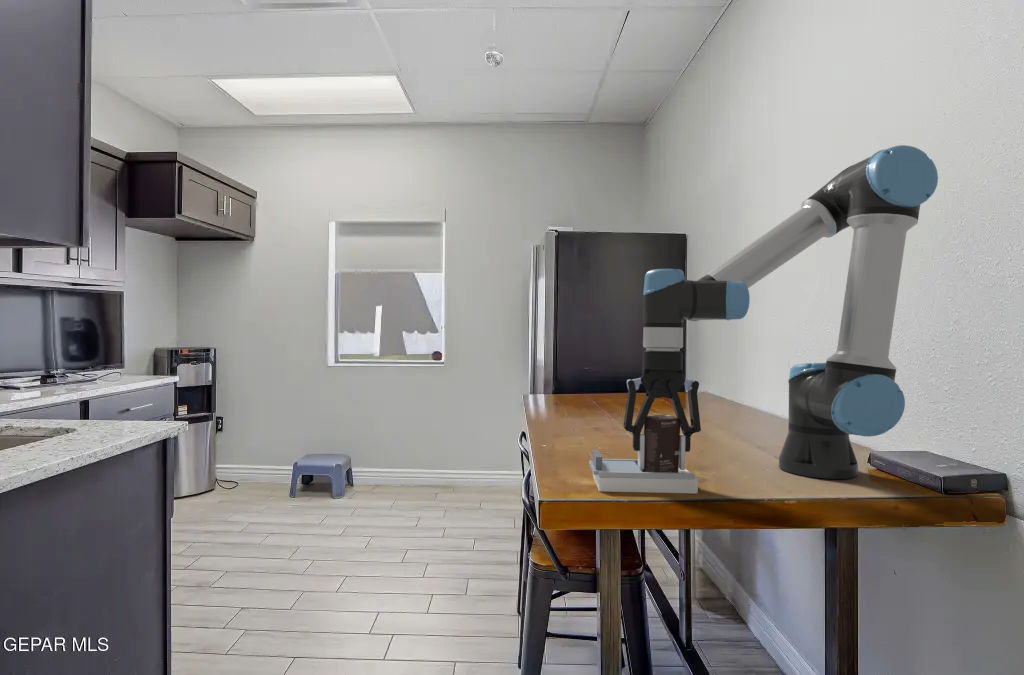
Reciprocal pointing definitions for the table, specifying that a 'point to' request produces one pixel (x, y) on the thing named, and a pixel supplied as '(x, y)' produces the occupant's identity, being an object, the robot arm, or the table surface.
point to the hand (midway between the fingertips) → (661, 467)
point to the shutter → (610, 464)
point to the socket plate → (646, 481)
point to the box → (661, 444)
